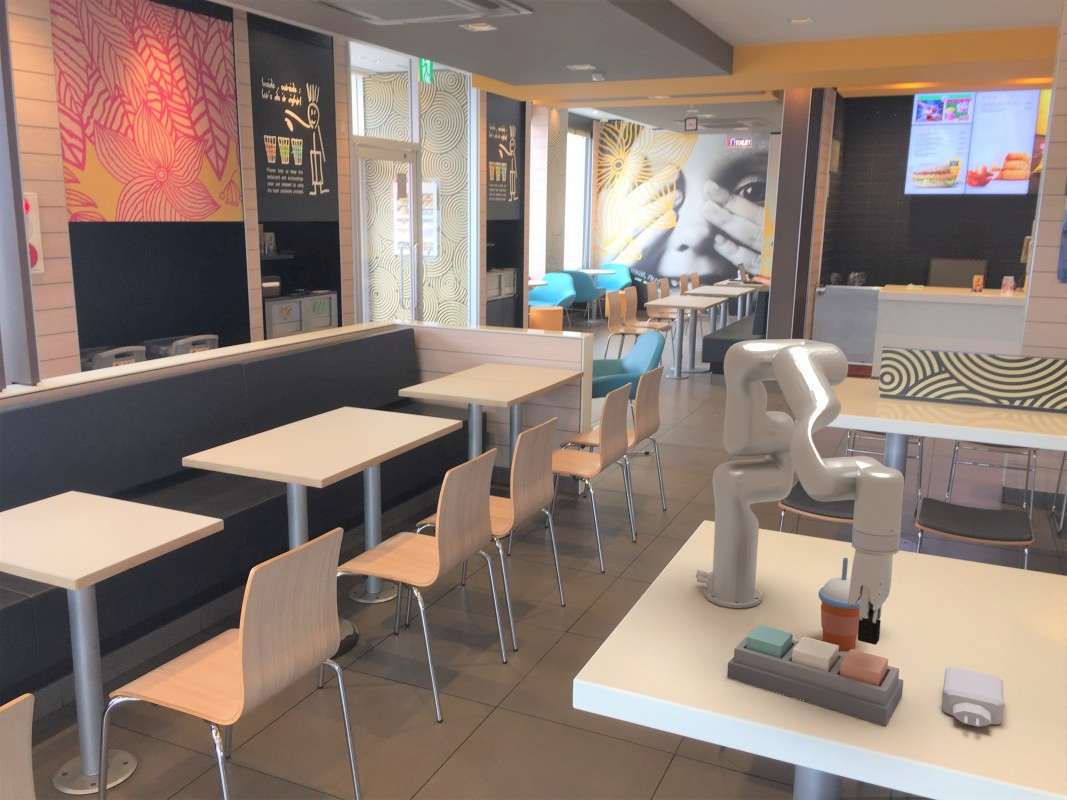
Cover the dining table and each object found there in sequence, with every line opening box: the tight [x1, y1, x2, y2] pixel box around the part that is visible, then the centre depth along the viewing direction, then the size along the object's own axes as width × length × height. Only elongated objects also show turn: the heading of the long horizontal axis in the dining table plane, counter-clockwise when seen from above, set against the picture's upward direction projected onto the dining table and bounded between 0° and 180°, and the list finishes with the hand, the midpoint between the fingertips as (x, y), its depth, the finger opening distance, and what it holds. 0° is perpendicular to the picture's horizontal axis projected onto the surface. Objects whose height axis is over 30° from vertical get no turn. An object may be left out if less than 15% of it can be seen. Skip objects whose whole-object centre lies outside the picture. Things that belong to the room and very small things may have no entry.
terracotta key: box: [840, 648, 889, 687], centre depth 154 cm, size 6×6×3 cm
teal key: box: [746, 624, 794, 659], centre depth 163 cm, size 6×6×3 cm
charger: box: [941, 666, 1005, 728], centre depth 150 cm, size 5×9×15 cm
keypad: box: [726, 636, 904, 727], centre depth 159 cm, size 28×12×6 cm, turn 55°
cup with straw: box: [818, 557, 860, 651], centre depth 174 cm, size 9×9×18 cm
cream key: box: [792, 636, 840, 672], centre depth 158 cm, size 6×6×3 cm
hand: (868, 640), depth 152 cm, fingers closed
